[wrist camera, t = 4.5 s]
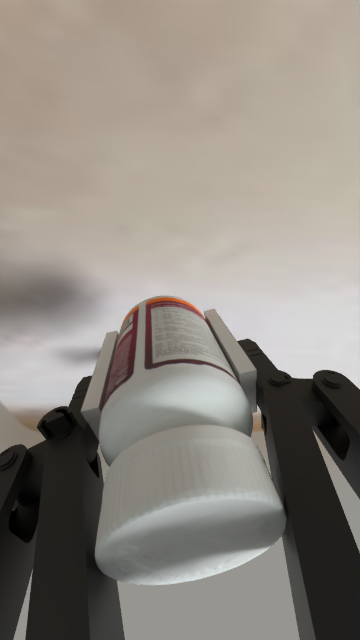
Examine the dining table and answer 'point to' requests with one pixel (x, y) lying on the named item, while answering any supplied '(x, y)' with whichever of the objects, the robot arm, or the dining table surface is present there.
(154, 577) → the pill bottle
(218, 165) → the dining table surface
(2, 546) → the robot arm
